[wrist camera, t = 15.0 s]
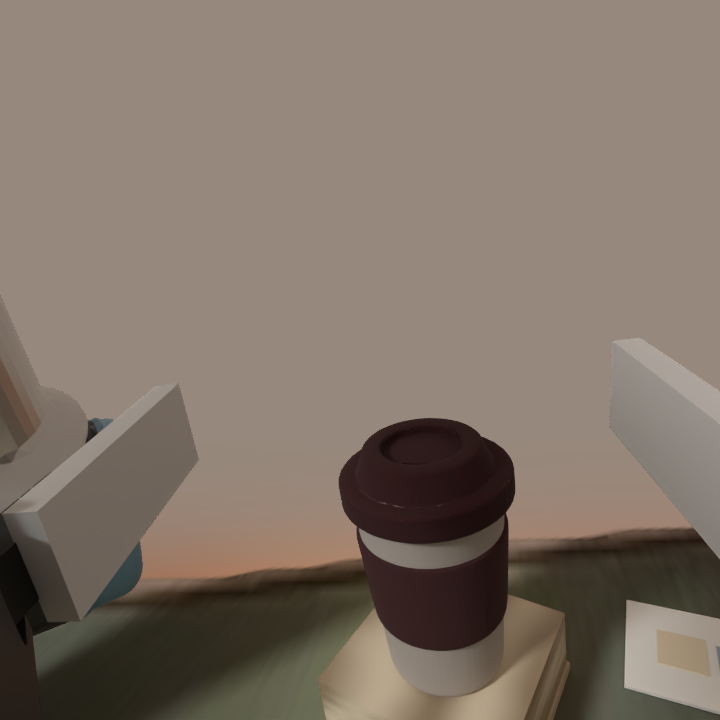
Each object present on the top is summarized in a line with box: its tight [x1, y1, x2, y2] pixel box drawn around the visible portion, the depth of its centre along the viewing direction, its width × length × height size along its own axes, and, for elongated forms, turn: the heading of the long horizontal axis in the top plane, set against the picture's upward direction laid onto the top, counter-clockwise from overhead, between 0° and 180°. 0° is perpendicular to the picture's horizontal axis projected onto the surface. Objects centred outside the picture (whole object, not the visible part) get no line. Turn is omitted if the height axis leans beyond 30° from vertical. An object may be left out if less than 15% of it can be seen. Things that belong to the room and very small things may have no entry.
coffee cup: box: [339, 418, 515, 697], centre depth 31 cm, size 10×10×15 cm
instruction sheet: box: [624, 600, 720, 715], centre depth 35 cm, size 10×8×1 cm
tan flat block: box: [317, 594, 570, 720], centre depth 34 cm, size 12×12×5 cm
